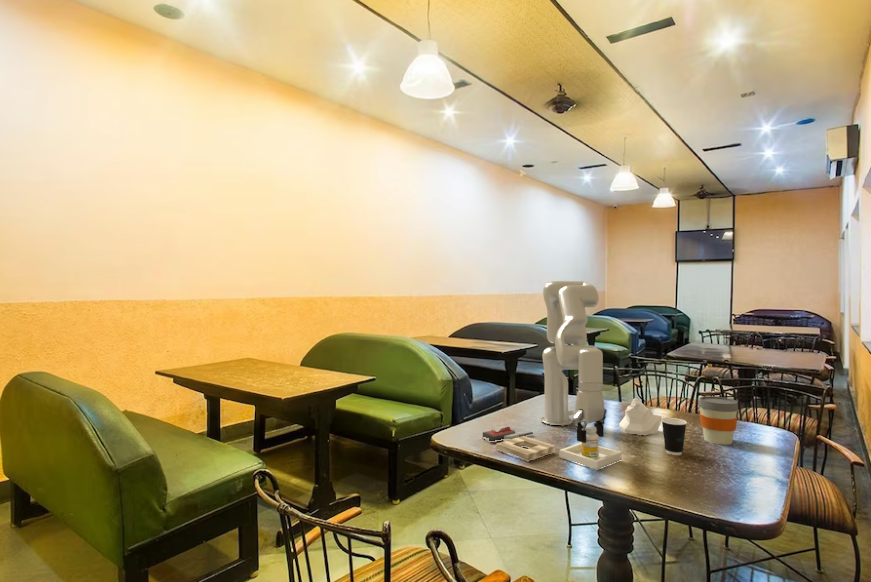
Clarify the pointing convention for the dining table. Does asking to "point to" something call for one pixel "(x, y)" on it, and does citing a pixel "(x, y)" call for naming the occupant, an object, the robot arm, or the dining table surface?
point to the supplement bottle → (590, 443)
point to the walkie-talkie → (502, 433)
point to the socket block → (515, 448)
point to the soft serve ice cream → (640, 420)
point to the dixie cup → (674, 435)
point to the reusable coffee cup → (718, 419)
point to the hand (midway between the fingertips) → (590, 438)
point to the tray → (604, 458)
